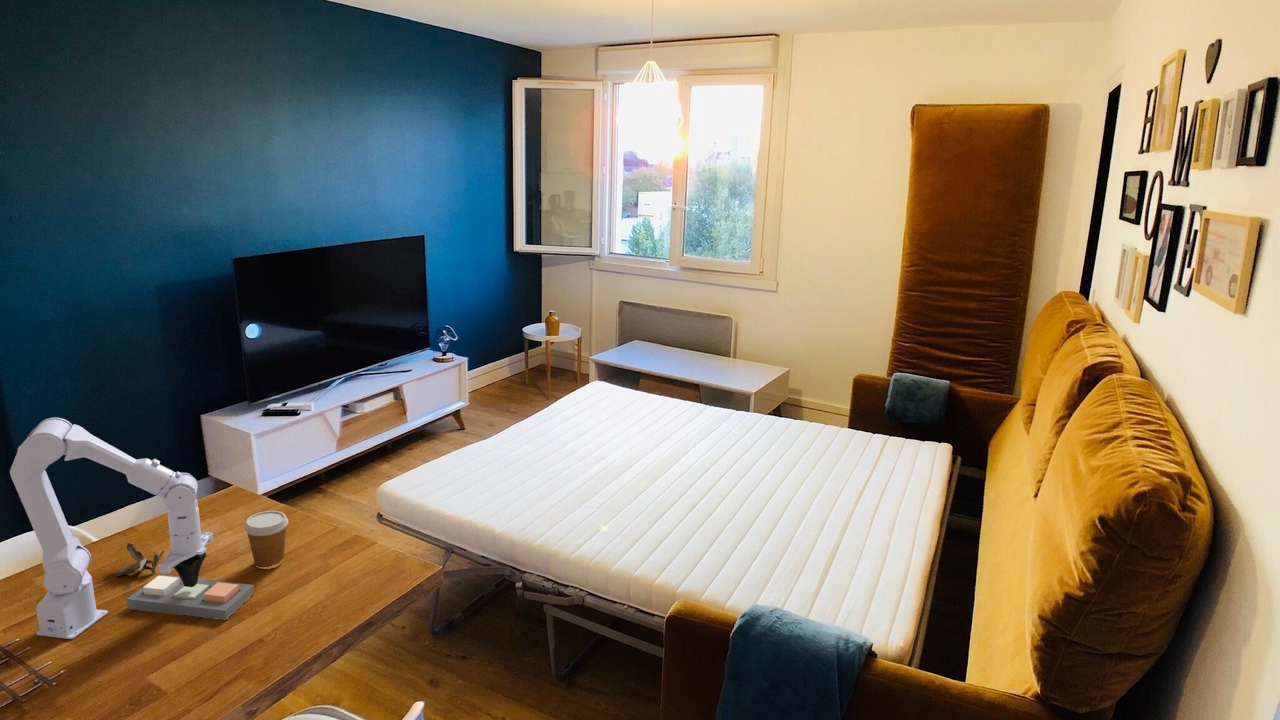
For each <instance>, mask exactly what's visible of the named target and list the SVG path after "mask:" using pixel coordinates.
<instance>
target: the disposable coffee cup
mask: <svg viewBox="0 0 1280 720" xmlns="http://www.w3.org/2000/svg"><path fill="white" fill-rule="evenodd" d="M288 524H289V518H287V516H286V513H284V512H283V511H277V510H266V511H260V512H257V513H254V514H252V515H250V517H248V518H247V519H246V521H245V524H244V530H245V532H246V533H247V538H248V542H249V545H250V550H251V553H252V559H253V562H254V566H255V565H256V566H258V567H269V566H272V565H275V564H277V563H279V562H280V561H281V560H282V559H283V558H284V559H285V549H286V535H287V526H288Z"/></svg>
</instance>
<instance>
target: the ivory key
mask: <svg viewBox="0 0 1280 720" xmlns="http://www.w3.org/2000/svg"><path fill="white" fill-rule="evenodd" d="M157 576H158V575H157ZM157 576H156V577H155V579H154V578H153V579H154V580H153V579H152V580H150V581H151V582H150V581H149V582H148V583H146V584H147V585H146V584H145V585H144V586H142V587H143V590H144V594H145V595H154V596H162V597H165V596H167V595H168V594H169V593H170V592H172V591H173V590H174V589H176V588H177V587H178V586H179V585H180V581H179V578H177V577H168V576H158V577H157Z"/></svg>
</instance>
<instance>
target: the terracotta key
mask: <svg viewBox="0 0 1280 720" xmlns="http://www.w3.org/2000/svg"><path fill="white" fill-rule="evenodd" d="M238 592H239V588H238V584H229V583H220V582H218V583H216V584H215V585H214V586H213V587H212V588H210V589H209V590H208V591H207V592H206V593H204V601H205V602H213V603H222V604H226V603H227V602H228V601H229V600H231V599H232V598H233V597H234V596H235V595H236V594H237V593H238Z"/></svg>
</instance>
